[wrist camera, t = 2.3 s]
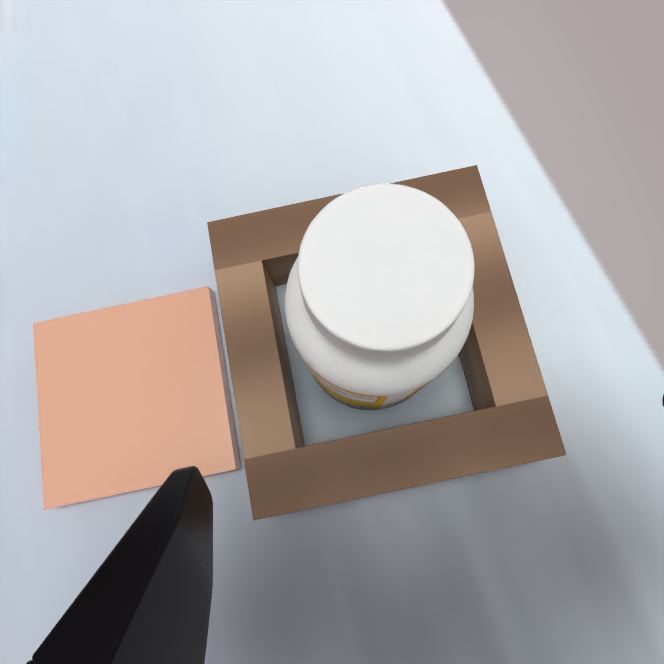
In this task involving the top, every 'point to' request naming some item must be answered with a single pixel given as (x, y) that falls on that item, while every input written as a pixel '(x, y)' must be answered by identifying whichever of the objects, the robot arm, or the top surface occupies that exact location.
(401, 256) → the supplement bottle
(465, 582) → the top surface
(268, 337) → the pocket block
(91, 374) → the coaster
